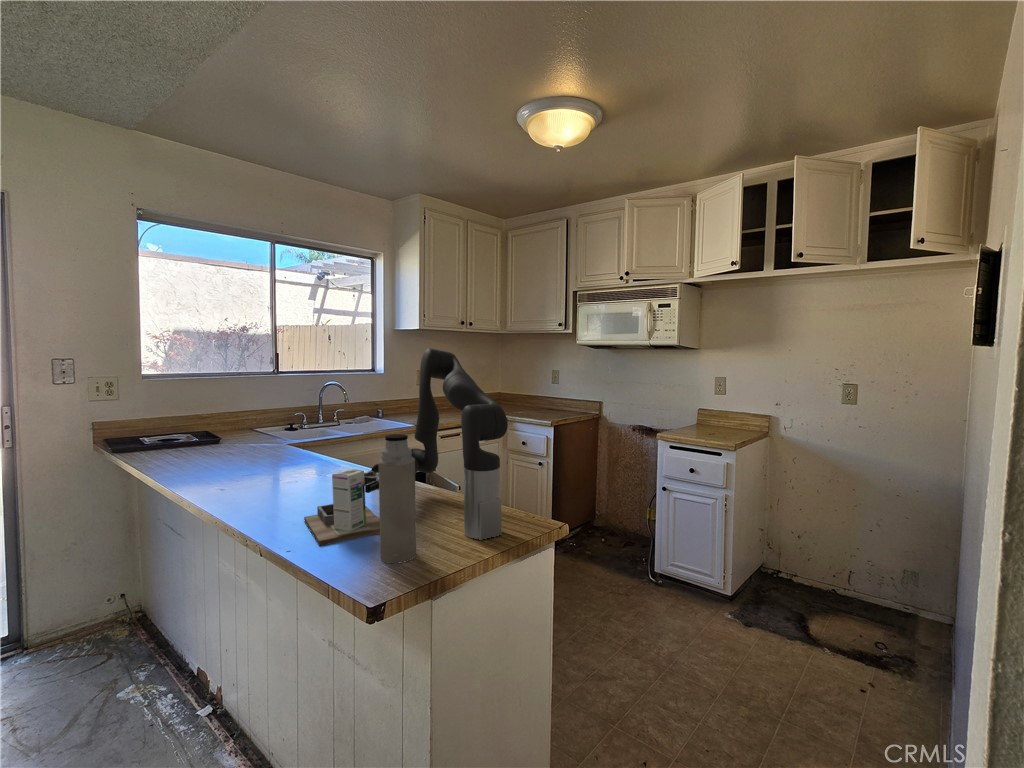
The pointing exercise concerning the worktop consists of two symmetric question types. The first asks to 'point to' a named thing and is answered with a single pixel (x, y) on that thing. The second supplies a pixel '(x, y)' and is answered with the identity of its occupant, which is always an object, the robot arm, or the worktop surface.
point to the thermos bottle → (397, 500)
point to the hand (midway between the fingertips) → (352, 487)
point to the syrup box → (349, 499)
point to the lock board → (328, 534)
